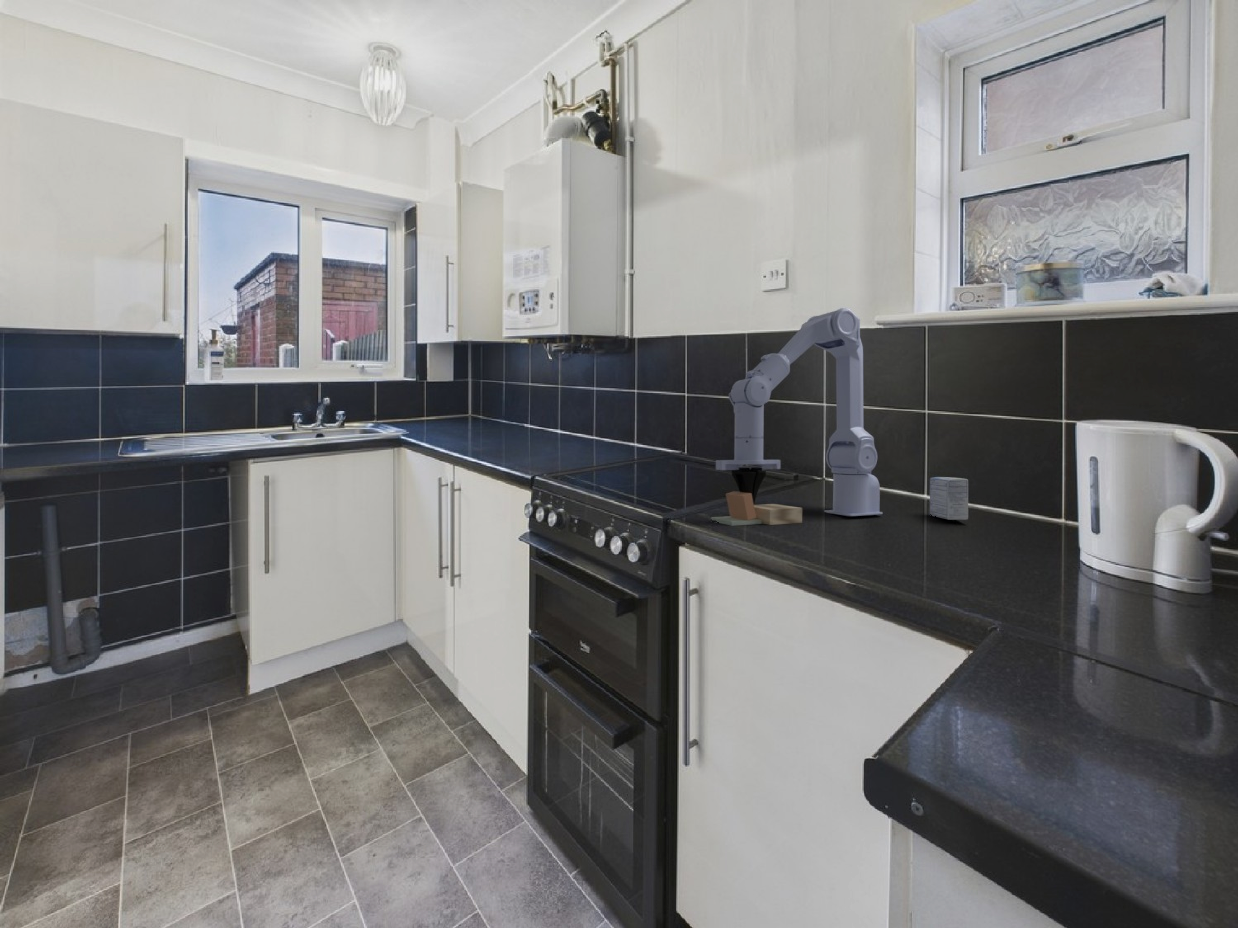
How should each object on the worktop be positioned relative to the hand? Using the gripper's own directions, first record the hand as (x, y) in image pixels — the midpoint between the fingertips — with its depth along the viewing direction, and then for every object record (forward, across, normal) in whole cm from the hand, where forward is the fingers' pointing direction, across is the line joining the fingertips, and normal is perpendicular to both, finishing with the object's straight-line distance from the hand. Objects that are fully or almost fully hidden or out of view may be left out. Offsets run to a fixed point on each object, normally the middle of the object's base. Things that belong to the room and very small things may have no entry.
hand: (748, 505), depth 123 cm
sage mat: (+3, +2, -1) cm, 4 cm away
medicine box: (+4, -44, +11) cm, 46 cm away
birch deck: (+3, -6, 0) cm, 6 cm away
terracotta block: (0, +1, 0) cm, 1 cm away
